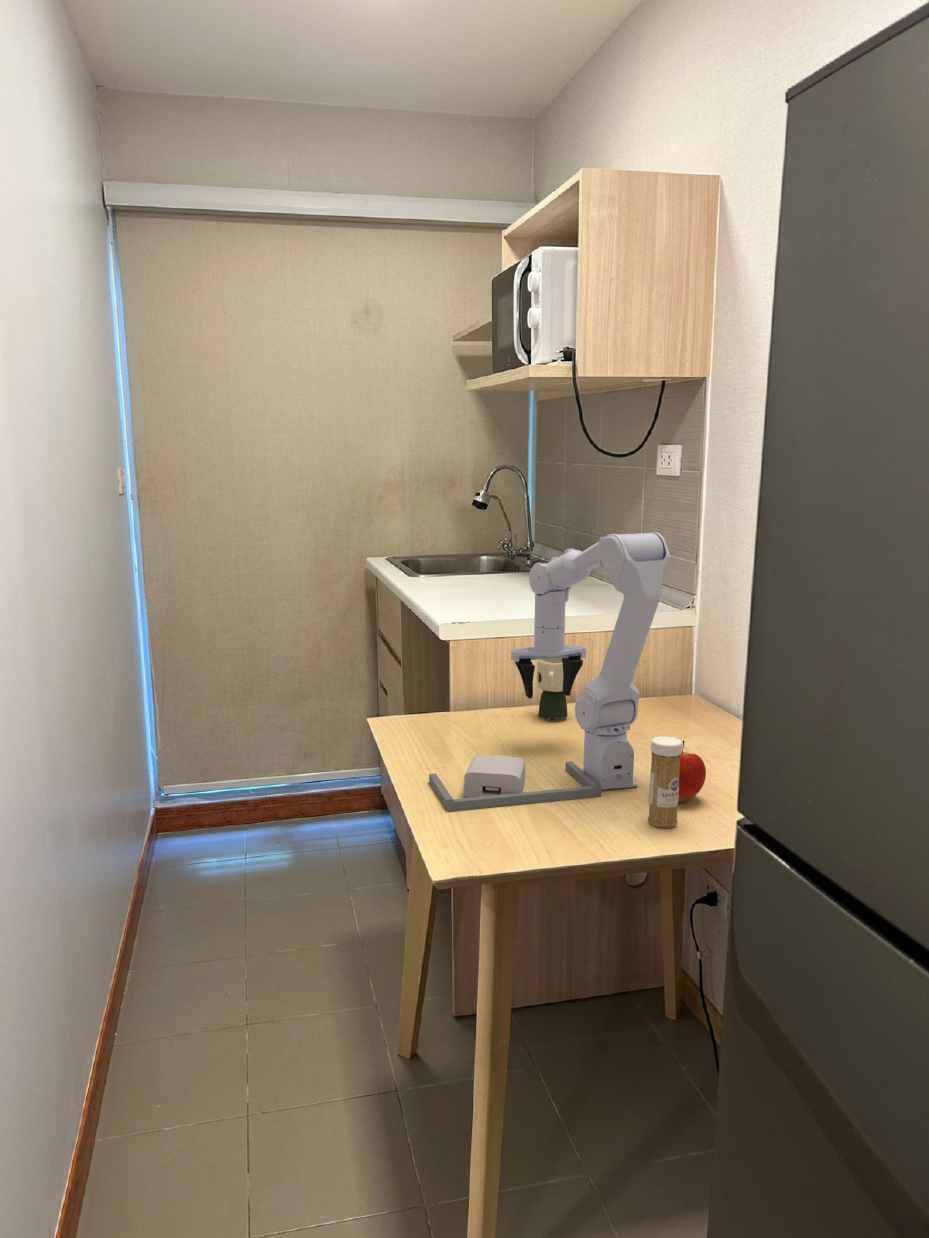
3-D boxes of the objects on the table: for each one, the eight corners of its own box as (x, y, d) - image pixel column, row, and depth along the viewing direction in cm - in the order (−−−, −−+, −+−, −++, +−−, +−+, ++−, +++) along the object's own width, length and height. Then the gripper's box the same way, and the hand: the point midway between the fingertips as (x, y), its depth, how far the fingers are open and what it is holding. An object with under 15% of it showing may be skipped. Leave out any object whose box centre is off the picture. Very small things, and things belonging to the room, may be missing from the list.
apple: (644, 800, 147) (646, 742, 145) (667, 786, 153) (670, 730, 151) (689, 813, 142) (692, 753, 140) (711, 798, 148) (715, 741, 146)
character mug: (540, 709, 198) (541, 652, 195) (572, 712, 196) (573, 654, 194) (532, 724, 187) (533, 664, 185) (566, 726, 186) (567, 666, 183)
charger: (528, 771, 161) (519, 802, 146) (477, 767, 162) (464, 799, 148) (528, 746, 160) (520, 775, 145) (478, 743, 161) (464, 771, 147)
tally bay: (601, 796, 149) (601, 787, 148) (447, 811, 142) (447, 802, 141) (571, 769, 161) (571, 761, 161) (429, 782, 154) (429, 773, 154)
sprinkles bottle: (668, 831, 135) (673, 746, 132) (642, 823, 138) (645, 740, 135) (682, 822, 138) (687, 739, 136) (656, 814, 141) (660, 733, 139)
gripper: (577, 620, 174) (575, 688, 176) (506, 623, 170) (505, 692, 173) (591, 627, 167) (589, 697, 170) (518, 631, 164) (516, 702, 166)
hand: (547, 695), depth 171 cm, fingers open, 7 cm apart
